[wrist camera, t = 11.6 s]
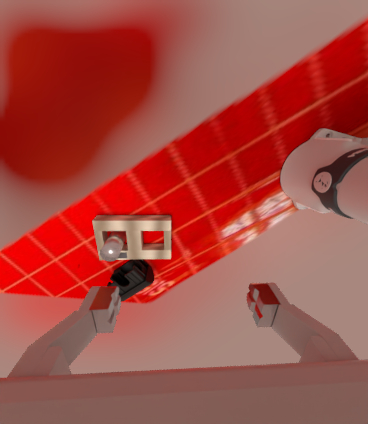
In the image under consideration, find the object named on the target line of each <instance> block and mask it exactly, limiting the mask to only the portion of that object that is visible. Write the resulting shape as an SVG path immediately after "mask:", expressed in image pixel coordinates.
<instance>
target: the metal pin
mask: <svg viewBox="0 0 368 424" xmlns="http://www.w3.org/2000/svg"><path fill="white" fill-rule="evenodd" d="M126 238H127V236H126V231H112V232H111V234H110V235H109V237H108V239H107V240H106V242H105V244H104V245H103V247H102V249H101V250H100V256H101V257H102V258H103V259H104V260H106V261H115V260H116V259H118V257H119V255H120V252H121V250H122V248H123V245H124V243H125V240H126Z"/></svg>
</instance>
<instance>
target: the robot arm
mask: <svg viewBox="0 0 368 424" xmlns="http://www.w3.org/2000/svg"><path fill="white" fill-rule="evenodd" d="M326 135H327V137H326ZM280 182H281V187H282V189H283V191H284V193H285V194H286V195H287V196H288V197H290V198H291V199H292V200H293V203H294V206H295V207H296V208H297V209H300V210H302V209H308V208H310V209H312V210H315V211H317V212H320V213H324V214H325V213H329V212H333V213H335V214H337V215H340V216H344V217H347V218H352V219H356V220H359V221H361V222H363V223H366V224H368V138H357V137H354V136H350V135H347V134H344V133H340V132H337V131H333V130H330V129H325V128H321V129H319V130H318V131H316V133H315V134H314V135H313V136H312V137H311V138H310V139H309V140H308V141H307V142H305V143H303V144H302V145H300V146H298V147H297V148H296V149H295V150H294V151H293V152H292V153H291V154H290V155H289V156H288V158H287V159H286V161H285V163H284V165H283V167H282V171H281V176H280ZM249 290H250V291H249V292H248V293H247V303H248V307H249V309H250V310H251V311H252V312H253V318H254V320H255V322H256V324H257V327H272V329H273V330H274V331H276V332H277V333H278V334H279V335H280V336H281V337H282V338H283V339H284V340H285V341H286V342H287V343H288V344H289V345H290V346H291V347H292V348H293V349H294V350H295V351H296V352H297V353H298V354H299V355H300V356H301V359H300V361H299V363H286V364H267V365H249V366H248V365H247V366H230V367H229V366H227V367H208V368H189V369H170V370H150V371H132V372H131V371H130V372H111V373H90V374H71V371H70V369H69V365H70V364H71V363H72V362H73V361H74V360H75V359H76V358H77V356H78V355H79V354H80V353H81V352H82V351H83V350H84V348H85V347H86V346H87V345H88V344H89V343H90V342H91V341H92V339H93V338H94V337H95V336H96V335H97V333H110V332H113V330H114V327H115V324H116V316H117V315H118V313H119V310H120V305H121V297H120V296H119V295H118V294H119V287H118V286H101V287H99V286H93V287H91V288H90V290H89V292H88V294H87V295H86V297H85V299H84V301H83V303H82V305H81V306H80V308H79V310H78V311H74V312H73V313H72V314H71V315H69V316H68V317H67V318H65V319H64V320H63V321H61V322H60V323H59V324H57V325H56V326H55V327H54V328H52V329H51V330H50V331H48V332H47V333H46V334H44V335H43V336H42V337H40V338H39V339H38V340H36V341H35V342H34V343H33V344H31V345H30V346H29V347H28V348H27V350H26V351H25V353H24V354H23V355H22V357H21V358H20V360H19V361H18V362H17V364H16V365H15V367H14V368H13V370H12V372H11V373H10V374H9V375H8V377H7V378H0V424H368V359H365V360H359V359H358V358H357V357H356V356H355V354H354V353H353V352H352V351H351V349H350V348H349V347H348V346H347V345H346V343H345V342H344V341H343V340H342V339H341V337H340V336H339V335H338V334H337V333H335V332H334V331H332V330H331V329H329V328H327V327H326V326H325V325H323V324H322V323H320V322H319V321H317V320H316V319H314V318H312V317H311V316H309V315H308V314H306V313H305V312H303V311H302V310H300V309H299V308H297V307H296V306H294V305H291V304H290V303H289V302H288V300H287V299H286V298H285V296H284V295H283V293H282V292H281V291H280V289H279V288H278V286H277V285H276V284H275V283H251V284H250V285H249Z"/></svg>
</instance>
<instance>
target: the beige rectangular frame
mask: <svg viewBox="0 0 368 424" xmlns="http://www.w3.org/2000/svg"><path fill="white" fill-rule="evenodd" d="M92 222H93V227H94V233H95V238H96V243H97V249H98V254H99V259H100V260H104V259H103V258H102V257H101V256H100V250H101V249H102V247H103V245H104V244H105V242H106V240H107V239H108V235H107V231H126V236H127V244H124V245H123V248H122V250H121V252H120V255H119V257H118V259H116V260H128V259H171V215H97V216H96V217H95V218H94V219H93V220H92ZM143 231H164V244H144V242H143Z"/></svg>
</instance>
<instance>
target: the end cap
mask: <svg viewBox="0 0 368 424" xmlns="http://www.w3.org/2000/svg"><path fill="white" fill-rule="evenodd" d="M110 279H111V280H112V281H113V283H111V282H109V283H108V285H107V286H118V287H119V294H118V295H119V296H120V297H121V301H124V300H126V299H128V298H129V297H131V296H133V295H134V294H136V293H137V292H139V291H141V290H142V289H144V288H145V287H147V286H149V285H150V284H152V283H153V281H154V273H153V271H152V269H151V267H150V266H149V265H148V264H147V263H146V262H145V261H144V260H143V259H131V260H130V261H128V262H127V263H125V264H124V265H122V266H121V267H119V268H118V269H116V270H115V271H114V273H113V274H112V276H111V278H110Z"/></svg>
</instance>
